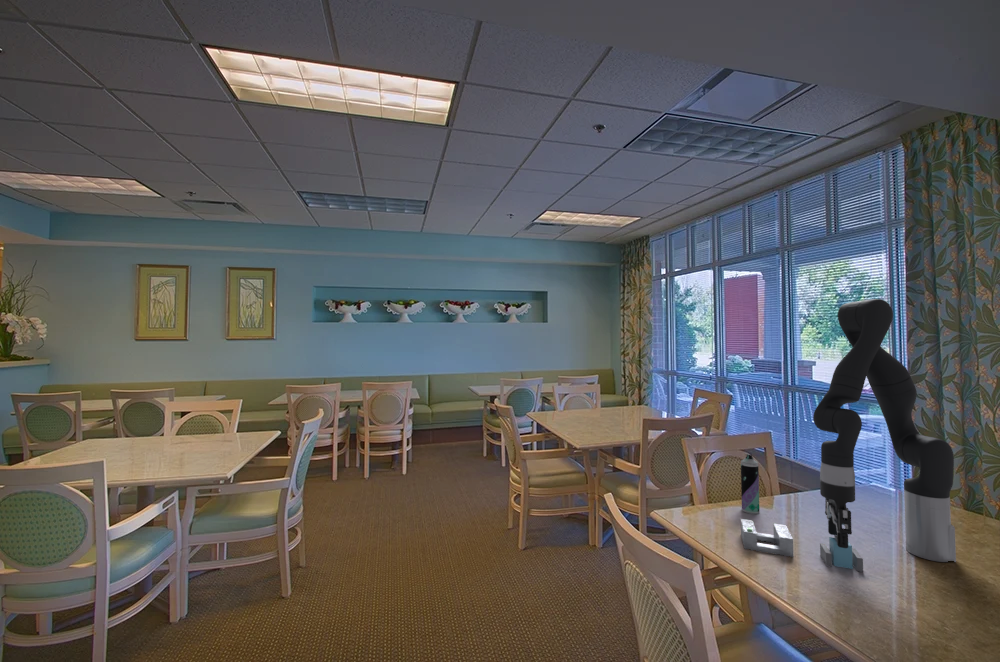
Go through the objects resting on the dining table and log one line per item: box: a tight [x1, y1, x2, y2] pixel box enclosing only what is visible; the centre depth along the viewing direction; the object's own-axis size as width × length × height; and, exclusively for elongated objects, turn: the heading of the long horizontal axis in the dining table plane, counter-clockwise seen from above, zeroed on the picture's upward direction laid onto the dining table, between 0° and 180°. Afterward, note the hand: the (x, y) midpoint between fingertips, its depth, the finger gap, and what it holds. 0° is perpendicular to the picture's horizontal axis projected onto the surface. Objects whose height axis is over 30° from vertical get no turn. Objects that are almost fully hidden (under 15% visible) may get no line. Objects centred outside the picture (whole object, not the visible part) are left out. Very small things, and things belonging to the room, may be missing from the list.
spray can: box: [740, 453, 760, 515], centre depth 153 cm, size 6×6×20 cm
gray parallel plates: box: [819, 542, 864, 573], centre depth 116 cm, size 8×6×4 cm
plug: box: [828, 535, 854, 570], centre depth 116 cm, size 4×4×7 cm
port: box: [740, 518, 794, 558], centre depth 127 cm, size 12×10×6 cm
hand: (837, 540), depth 117 cm, fingers open, 8 cm apart
